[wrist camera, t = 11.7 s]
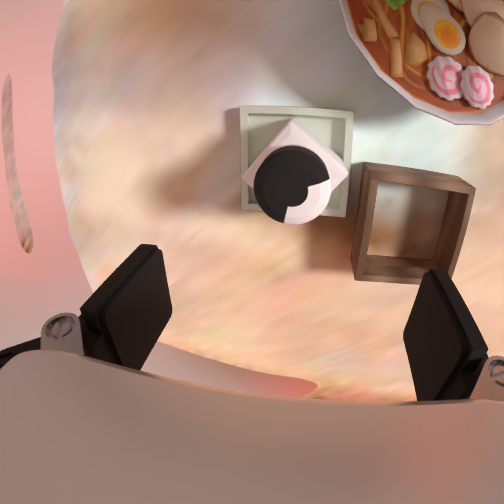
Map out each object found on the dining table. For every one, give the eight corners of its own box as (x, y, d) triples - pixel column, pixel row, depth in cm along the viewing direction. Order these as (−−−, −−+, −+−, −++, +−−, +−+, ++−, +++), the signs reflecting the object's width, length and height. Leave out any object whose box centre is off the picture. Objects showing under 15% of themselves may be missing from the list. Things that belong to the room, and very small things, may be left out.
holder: (457, 176, 30) (475, 188, 26) (436, 265, 36) (448, 286, 32) (363, 161, 32) (371, 171, 28) (350, 258, 38) (354, 280, 34)
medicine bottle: (252, 163, 34) (226, 194, 24) (293, 116, 31) (285, 124, 20) (300, 202, 35) (295, 251, 25) (342, 159, 32) (358, 189, 22)
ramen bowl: (369, 144, 31) (386, 157, 24) (286, -29, 23) (278, -60, 16) (527, 102, 23) (565, 110, 16) (460, -53, 14) (485, -74, 7)
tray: (351, 111, 30) (353, 111, 28) (343, 211, 35) (345, 217, 34) (243, 105, 32) (239, 106, 30) (244, 204, 37) (241, 210, 36)
